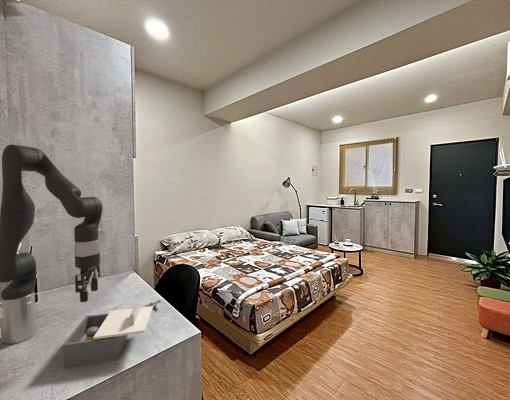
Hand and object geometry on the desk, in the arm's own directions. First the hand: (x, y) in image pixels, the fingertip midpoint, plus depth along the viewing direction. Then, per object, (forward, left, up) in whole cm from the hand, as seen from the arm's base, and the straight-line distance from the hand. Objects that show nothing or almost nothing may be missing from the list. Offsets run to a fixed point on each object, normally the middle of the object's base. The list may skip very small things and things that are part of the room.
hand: (89, 295), depth 87 cm
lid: (+12, 0, -12) cm, 17 cm away
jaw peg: (0, 0, -20) cm, 20 cm away
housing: (+3, 0, -20) cm, 20 cm away
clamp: (+15, +23, -21) cm, 34 cm away
